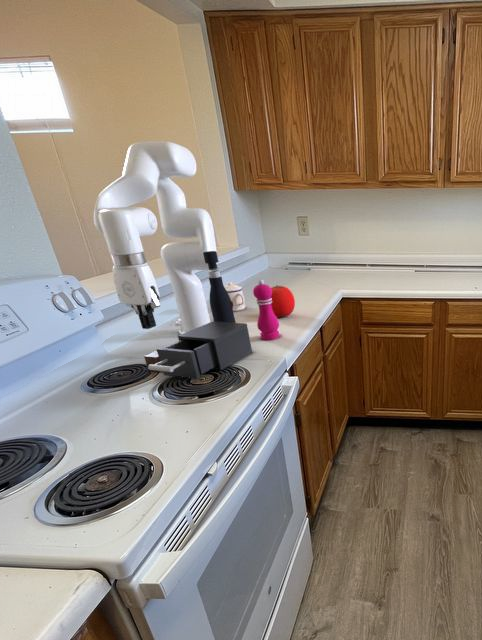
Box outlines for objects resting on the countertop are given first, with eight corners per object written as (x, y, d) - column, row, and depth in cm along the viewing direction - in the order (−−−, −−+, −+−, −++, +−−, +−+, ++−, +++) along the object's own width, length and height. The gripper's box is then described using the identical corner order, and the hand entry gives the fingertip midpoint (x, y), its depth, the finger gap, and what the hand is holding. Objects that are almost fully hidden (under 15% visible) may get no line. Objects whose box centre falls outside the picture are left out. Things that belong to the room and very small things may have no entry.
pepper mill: (274, 340, 141) (265, 282, 133) (255, 340, 143) (244, 281, 135) (284, 334, 148) (275, 277, 140) (266, 333, 149) (256, 277, 141)
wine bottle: (220, 348, 136) (198, 254, 124) (218, 342, 142) (197, 251, 129) (240, 344, 139) (221, 252, 127) (238, 339, 144) (219, 249, 132)
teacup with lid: (219, 310, 181) (213, 283, 176) (237, 305, 188) (232, 279, 183) (237, 313, 175) (231, 286, 171) (254, 308, 182) (249, 281, 177)
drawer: (181, 388, 107) (173, 360, 103) (146, 384, 110) (138, 356, 107) (230, 360, 123) (225, 335, 120) (199, 357, 126) (193, 333, 123)
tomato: (295, 311, 176) (291, 281, 171) (297, 318, 166) (293, 286, 161) (265, 314, 173) (259, 284, 167) (265, 322, 162) (260, 290, 157)
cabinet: (221, 370, 119) (213, 338, 115) (185, 366, 122) (177, 335, 119) (252, 352, 132) (246, 323, 128) (219, 349, 135) (213, 321, 131)
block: (148, 370, 121) (143, 356, 119) (160, 364, 125) (156, 350, 123) (160, 371, 119) (156, 357, 118) (172, 366, 123) (168, 351, 122)
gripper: (94, 262, 107) (117, 329, 115) (139, 263, 103) (160, 333, 111) (120, 257, 114) (140, 321, 121) (163, 258, 109) (181, 325, 117)
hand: (149, 327), depth 116 cm, fingers closed
